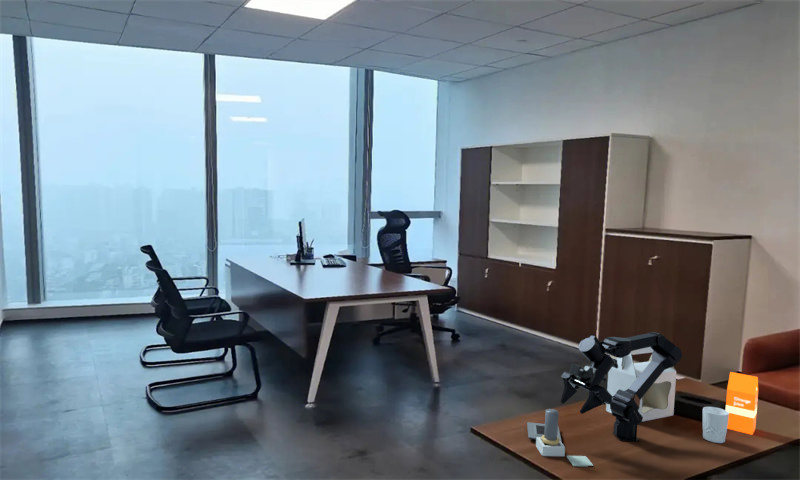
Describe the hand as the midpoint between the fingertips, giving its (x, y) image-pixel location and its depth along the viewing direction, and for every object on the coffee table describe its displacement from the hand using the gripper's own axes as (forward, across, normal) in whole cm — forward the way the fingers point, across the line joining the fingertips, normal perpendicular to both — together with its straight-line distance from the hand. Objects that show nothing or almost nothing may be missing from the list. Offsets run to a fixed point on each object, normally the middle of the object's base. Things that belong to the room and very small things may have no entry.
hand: (570, 407), depth 177 cm
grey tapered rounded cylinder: (+15, +1, +3) cm, 15 cm away
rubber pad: (+12, +10, +6) cm, 17 cm away
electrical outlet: (+12, -10, +7) cm, 17 cm away
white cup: (-26, +11, +48) cm, 56 cm away
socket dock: (+15, +1, +3) cm, 15 cm away
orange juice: (-38, +7, +62) cm, 73 cm away
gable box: (-22, -16, +44) cm, 52 cm away
